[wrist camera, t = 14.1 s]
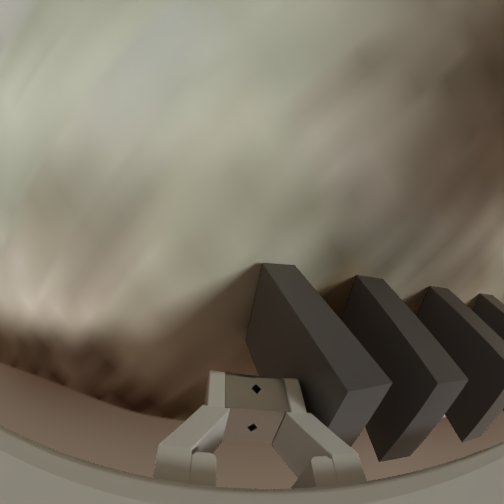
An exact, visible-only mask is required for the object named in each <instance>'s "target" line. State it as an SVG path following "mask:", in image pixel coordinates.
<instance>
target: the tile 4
mask: <svg viewBox="0 0 504 504" xmlns="http://www.w3.org/2000/svg"><path fill="white" fill-rule="evenodd" d="M472 311H473V312H474V313H475V314H477V315H478V316H479V317H480V318H481V319H482V320H483V321H484V322H485V323H486V324H487V325H488V326H489V327H490V328H491V329H492V330H493V331H495V332H496V333H497V334H498V335H499V336H500V337H501V338H502V339H503V340H504V304H503V303H502V302H500V301H499V300H498V299H497V298H495V297H494V296H493V295H487V294H480V295H479V297H478V299H477V301H476V304H475V306H474V308H473V310H472ZM503 411H504V408H503Z"/></svg>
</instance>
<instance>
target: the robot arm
mask: <svg viewBox="0 0 504 504" xmlns="http://www.w3.org/2000/svg"><path fill="white" fill-rule="evenodd" d="M222 441H228V442H247V443H259V444H272V447H273V448H274V449H275V450H276V452H277V453H278V454H279V455H280V457H281V458H282V459H283V460H284V462H285V463H286V464H287V465H288V466H289V468H290V469H291V470H292V472H293V473H294V474H295V475H296V476H297V478H298V479H297V481H296V482H295V483H294V485H293V486H292V487H291V489H246V488H228V487H216V456H214V455H213V453H214V451H215V450H216V449H217V448H218V447H219V445H220V444H221V443H222ZM0 504H504V441H503V442H500V443H498V444H496V445H493V446H491V447H488V448H486V449H484V450H481V451H478V452H476V453H473V454H470V455H468V456H465V457H462V458H459V459H456V460H453V461H450V462H447V463H444V464H440V465H437V466H433V467H430V468H426V469H422V470H418V471H414V472H410V473H406V474H402V475H397V476H392V477H388V478H382V479H377V480H371V481H367V480H366V477H365V474H364V471H363V468H362V465H361V462H360V459H359V456H358V453H357V452H356V451H354V450H353V449H352V448H351V447H350V446H349V445H347V444H346V443H345V442H344V441H343V440H341V439H340V438H339V437H338V436H337V435H336V434H334V433H333V432H332V431H331V430H330V429H329V428H327V427H326V426H325V425H324V424H323V423H322V422H321V421H319V420H318V419H317V418H316V417H315V416H314V415H313V414H312V413H307V411H306V407H305V403H304V399H303V396H302V392H301V388H300V384H299V380H298V379H295V378H275V377H262V376H251V375H243V374H236V373H229V372H220V371H214V370H210V371H209V376H208V382H207V389H206V395H205V403H204V405H202V406H201V407H200V408H199V409H198V410H197V411H196V412H194V413H193V414H192V415H191V416H190V417H189V418H188V419H187V420H186V421H185V422H183V423H182V424H181V425H180V426H179V427H178V428H177V429H176V430H175V431H173V433H171V434H170V435H169V436H168V437H167V438H165V439H164V440H163V441H162V442H161V443H160V444H159V446H158V452H157V457H156V464H155V469H154V474H153V478H152V477H147V476H142V475H137V474H133V473H129V472H124V471H120V470H117V469H113V468H109V467H105V466H102V465H98V464H95V463H92V462H89V461H85V460H82V459H79V458H76V457H73V456H70V455H68V454H65V453H62V452H59V451H57V450H54V449H51V448H49V447H46V446H44V445H41V444H39V443H37V442H34V441H32V440H30V439H28V438H25V437H23V436H21V435H19V434H17V433H15V432H12V431H10V430H8V429H6V428H4V427H3V426H1V425H0Z"/></svg>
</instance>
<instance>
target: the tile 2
mask: <svg viewBox="0 0 504 504" xmlns="http://www.w3.org/2000/svg"><path fill="white" fill-rule="evenodd" d="M341 321H342V322H343V323H344V324H345V325H346V327H347V328H348V329H349V330H350V331H351V333H352V334H353V335H354V336H355V337H356V339H357V340H358V341H359V342H360V343H361V345H362V346H363V347H364V348H365V349H366V351H367V352H368V353H369V354H370V355H371V357H372V358H373V359H374V360H375V362H376V363H377V364H378V365H379V366H380V368H381V369H382V370H383V371H384V373H385V374H386V375H387V376H388V377H389V379H390V380H391V381H392V382H393V383H392V385H391V386H390V388H389V390H388V391H387V393H386V395H385V396H384V398H383V400H382V401H381V403H380V404H379V406H378V408H377V409H376V411H375V412H374V414H373V415H372V417H371V418H370V420H369V421H368V423H367V424H366V426H365V428H366V430H367V433H368V435H369V438H370V440H371V443H372V445H373V448H374V450H375V453H376V455H377V458H378V460H379V462H380V461H386V460H392V459H397V458H402V457H407V456H410V455H411V454H412V453H413V452H414V451H415V450H416V449H417V447H418V446H419V445H420V444H421V443H422V442H423V441H424V439H425V438H426V437H427V436H428V434H429V433H430V432H431V431H432V430H433V428H434V427H435V426H436V425H437V423H438V422H439V421H440V420H441V418H442V417H443V416H444V414H445V413H446V412H447V410H448V409H449V408H450V406H451V405H452V403H453V402H454V401H455V399H456V398H457V396H458V395H459V394H460V392H461V391H462V389H463V388H464V386H465V385H466V383H467V382H468V380H469V379H468V378H467V377H466V376H465V374H464V373H463V372H462V371H461V369H460V368H459V367H458V365H457V364H456V363H455V362H454V360H453V359H452V358H451V357H450V356H449V354H448V353H447V352H446V351H445V349H444V348H443V347H442V346H441V345H440V343H439V342H438V341H437V340H436V339H435V337H434V336H433V335H432V334H431V333H430V332H429V330H428V329H427V328H426V327H425V326H424V325H423V323H422V322H421V321H420V320H419V319H418V318H417V316H416V315H415V314H414V313H413V312H412V311H411V310H410V309H409V307H408V306H407V305H406V304H405V303H404V302H403V301H402V300H401V298H400V297H399V296H398V295H397V294H396V293H395V292H394V291H393V290H392V289H391V287H390V286H389V285H388V284H387V283H386V282H385V281H384V280H383V279H378V278H372V277H365V276H359V275H357V276H356V279H355V282H354V285H353V288H352V291H351V294H350V296H349V299H348V302H347V305H346V307H345V310H344V313H343V316H342V318H341Z"/></svg>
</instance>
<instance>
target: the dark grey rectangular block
mask: <svg viewBox="0 0 504 504" xmlns="http://www.w3.org/2000/svg"><path fill="white" fill-rule="evenodd" d="M246 343H247V346H248V348H249V351H250V353H251V356H252V359H253V361H254V364H255V366H256V369H257V371H258V374H259V376H262V377H275V378H295V379H298V380H299V384H300V388H301V392H302V396H303V399H304V403H305V407H306V411H307V413H312V414H313V415H314V416H315V417H316V418H317V419H318V420H319V421H321V422H322V423H323V424H324V425H325V426H326V427H327V428H329V429H330V430H331V431H332V432H333V433H334V434H336V435H337V436H338V437H339V438H340V439H341V440H343V441H344V442H345V443H346V444H347V445H349V446H350V447H351V446H352V444H353V443H354V442H355V440H356V439H357V437H358V436H359V435H360V433H361V431H362V430H363V429H364V427H365V426H366V424H367V423H368V421H369V420H370V418H371V417H372V415H373V414H374V412H375V411H376V409H377V408H378V406H379V404H380V403H381V401H382V400H383V398H384V396H385V395H386V393H387V391H388V390H389V388H390V386H391V385H392V383H393V382H392V381H391V380H390V379H389V377H388V376H387V375H386V374H385V373H384V371H383V370H382V369H381V368H380V366H379V365H378V364H377V363H376V362H375V360H374V359H373V358H372V357H371V355H370V354H369V353H368V352H367V351H366V349H365V348H364V347H363V346H362V345H361V343H360V342H359V341H358V340H357V339H356V337H355V336H354V335H353V334H352V333H351V331H350V330H349V329H348V328H347V327H346V325H345V324H344V323H343V322H342V321H341V319H340V318H339V317H338V316H337V315H336V313H335V312H334V311H333V310H332V309H331V308H330V306H329V305H328V304H327V303H326V302H325V300H324V299H323V298H322V297H321V296H320V295H319V293H318V292H317V291H316V290H315V289H314V287H313V286H312V285H311V284H310V283H309V282H308V280H307V279H306V278H305V277H304V276H303V275H302V273H301V272H300V271H299V270H298V269H297V268H296V266H295V265H284V264H270V263H262V268H261V273H260V277H259V282H258V286H257V291H256V295H255V300H254V304H253V309H252V313H251V318H250V322H249V326H248V331H247V335H246Z"/></svg>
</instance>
